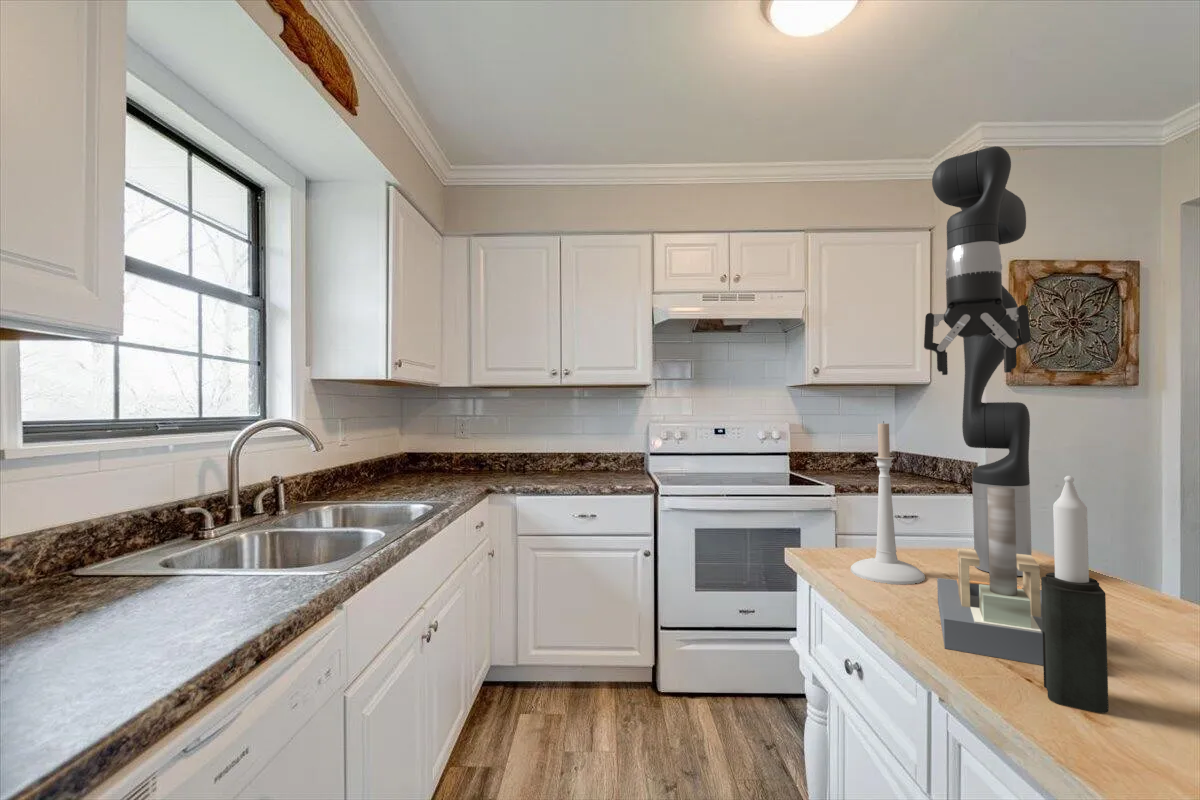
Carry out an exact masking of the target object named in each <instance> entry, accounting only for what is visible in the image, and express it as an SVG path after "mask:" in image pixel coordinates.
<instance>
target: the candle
mask: <svg viewBox="0 0 1200 800" xmlns="http://www.w3.org/2000/svg"><path fill="white" fill-rule="evenodd" d="M1063 479H1064V480H1063V481H1064V482H1065V483H1064V486H1063V488H1062V490H1061V494H1060V496H1059V497H1058V498H1057V500H1055V502H1054V503H1053V505H1052V507H1053V509H1052V512H1053V513H1052V514H1053V515H1052V516H1053V517H1052V519H1053V547H1054V548H1053V553H1054V555H1053V557H1054V572H1048V573H1045V576H1042V577H1040V590H1041V592H1042V631H1043V665H1042V667H1043V670H1042V671H1043V687H1044V688H1045V689H1046V691H1047V698H1048V699H1049V701H1051V702H1053V703H1055V704H1058V705H1061V706H1063V707H1064V706H1065V707H1068V708H1069V707H1070V708H1074V709H1079V710H1084V711H1089V712H1092V713H1097V714H1107V713H1109V711H1110V710H1109V678H1108V676H1109V675H1108V674H1109V673H1108V671H1109V670H1108V640H1107V639H1108V638H1107V637H1108V636H1107V635H1108V634H1107V608H1106V607H1107V606H1106V605H1107V604H1106V592H1105V591H1104V590H1103V588H1102V587H1101V586H1100V582H1099V581H1098V580H1097V579H1094V578H1092V577H1090V569H1089V567H1090V566H1089V533H1088V530H1089V528H1088V527H1089V526H1088V507H1087V506H1086V504H1085V503H1084V502H1083V501H1082V499H1081V498H1080V497H1079V494H1078V492H1077V490H1076V487H1075V484H1074V483H1073V482H1074V481H1075V478H1074V477H1073V476H1071V475H1066V476H1065V477H1064V478H1063Z"/></svg>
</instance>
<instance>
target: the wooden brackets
mask: <svg viewBox="0 0 1200 800" xmlns="http://www.w3.org/2000/svg"><path fill="white" fill-rule="evenodd" d="M1016 559H1017V568H1018V570H1019V571H1023V576H1022V588H1023V590H1024V592H1025V593H1026V595H1027V596H1028V598H1029V600H1030V609H1031V615H1032V616H1035V617H1041V599H1040V590H1041V571H1040V570H1041V566H1040V564H1039V563H1038V562H1037V561H1036V560H1035V558H1034V557H1033V556H1031V555H1025V554H1016ZM975 566H978V567H980V559H979V557H978V555H977V553H976V551H975V550H974V549H970V548H969V549H968V548H960V547H958V548H957V579H958V591H959V597H960V601H961V605H962V606H963V607H970V581H971V580H970V579H971V578H970V567H975Z"/></svg>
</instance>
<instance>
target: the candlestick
mask: <svg viewBox="0 0 1200 800" xmlns="http://www.w3.org/2000/svg"><path fill="white" fill-rule="evenodd" d="M877 442H878V443H877V445H878V446H877V448H878V450H877V451H878V453H877V454H878V455H877V456H874V457H873V458H874V459H875V460H876V466H877V468H879V469H878V470H879V475H878V493H877V498H878V499H877V521H876V522H877V527H876V548H875V551H876V552H875V557H870V558H864V559H860V560H858V561H855V562H854V563H853V564H851V566H850V573H852V574H853V575H854V576H856V577H858V578H861V579H863V580H866V579H867V580H866V581H869V580H870V581H871V582H874V581H875V582H874V583H879V582H880V583H879V584H885V583H887V585H897V586H898V585H900V586H903V585H904V586H906V585H907V584H910V585H916V584H915V583H917V584H921V583H923V582H925V578H926V575H925V574H924V573H923V571H921V569H919V568H918V567H916V566H914V565H912V564H910V563H908V562H905V561H902V560H899V559H898V555H897V544H896V536H895V535H896V534H895V532H896V531H895V523H894V508H893V495H892V484H891V481H892V480H891V475H890V470H891V469H890V468H892V466H893V464H892V461H893V460H894V459H895V457H892V456H890V455H891V454H890V453H891V450H890V423H885V421H884V420H883V421H882V422H881V423H877ZM922 581H923V582H922ZM920 582H921V583H920Z"/></svg>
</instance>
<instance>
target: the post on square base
mask: <svg viewBox="0 0 1200 800" xmlns="http://www.w3.org/2000/svg"><path fill="white" fill-rule="evenodd" d="M987 496H988V536H989V572H988V573H989V583H990V585H982V584H979V607H980V612H981V615H982V618H983V620H984V621H985V622H992V623H999V624H1005V625H1012V626H1019V627H1026V628H1031V609H1030V600H1029V598H1028V596H1027V595H1026V593H1025V592H1024V590H1023V589H1017V586H1018V576H1017V559H1016V519H1015V489H1013V488H1006V487H987Z"/></svg>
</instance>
